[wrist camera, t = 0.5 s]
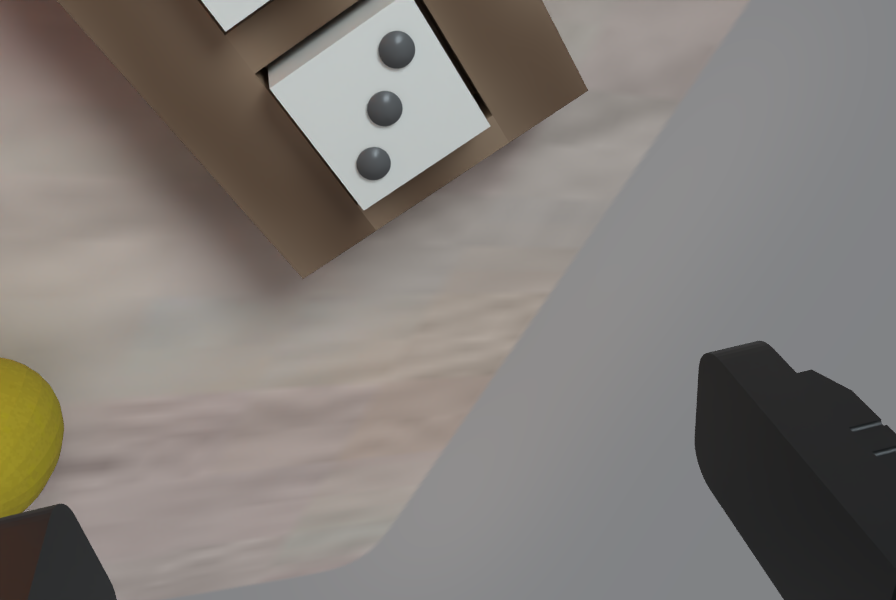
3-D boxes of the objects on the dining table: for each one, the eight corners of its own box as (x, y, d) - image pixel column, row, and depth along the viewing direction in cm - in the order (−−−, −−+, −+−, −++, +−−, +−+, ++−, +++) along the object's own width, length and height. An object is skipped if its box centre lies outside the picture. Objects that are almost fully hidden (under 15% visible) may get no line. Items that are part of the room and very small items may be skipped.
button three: (394, -25, 26) (408, -8, 24) (471, 101, 29) (491, 127, 26) (267, 64, 26) (269, 89, 24) (354, 180, 29) (364, 211, 27)
